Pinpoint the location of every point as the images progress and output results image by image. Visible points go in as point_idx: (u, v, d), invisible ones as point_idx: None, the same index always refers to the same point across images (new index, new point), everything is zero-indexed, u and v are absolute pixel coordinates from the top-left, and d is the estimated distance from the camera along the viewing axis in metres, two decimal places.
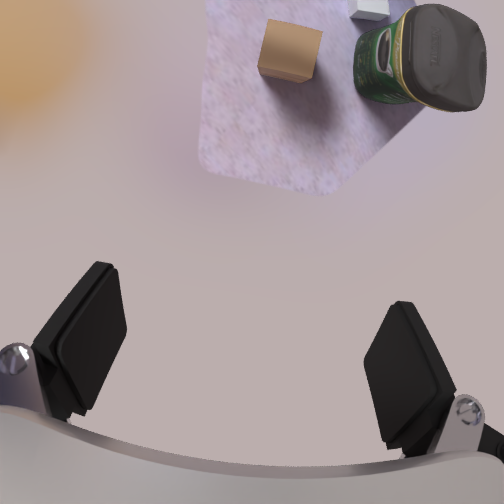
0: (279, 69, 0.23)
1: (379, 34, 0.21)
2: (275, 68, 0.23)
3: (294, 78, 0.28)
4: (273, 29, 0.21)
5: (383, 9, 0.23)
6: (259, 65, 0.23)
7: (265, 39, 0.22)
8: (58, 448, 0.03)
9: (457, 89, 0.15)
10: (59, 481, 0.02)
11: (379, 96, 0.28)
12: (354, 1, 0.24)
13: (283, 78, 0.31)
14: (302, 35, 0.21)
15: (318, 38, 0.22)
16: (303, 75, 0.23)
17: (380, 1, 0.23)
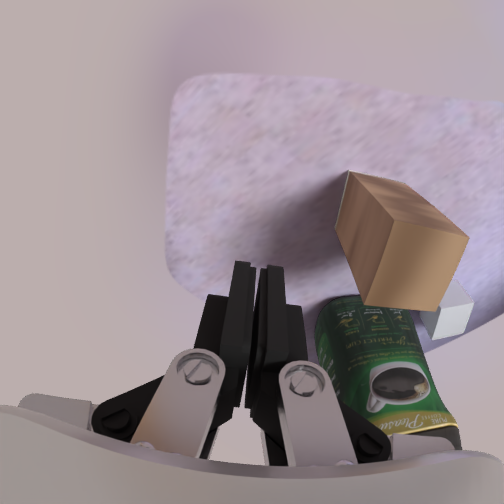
0: (384, 257, 0.14)
1: (418, 363, 0.19)
2: (386, 251, 0.14)
3: (352, 245, 0.19)
4: (451, 245, 0.13)
5: (438, 333, 0.24)
6: (395, 223, 0.13)
7: (438, 233, 0.13)
8: (58, 448, 0.03)
9: None
10: (59, 481, 0.02)
11: (327, 347, 0.24)
12: (449, 299, 0.23)
13: (344, 211, 0.22)
14: (434, 286, 0.15)
15: (426, 307, 0.15)
16: (369, 293, 0.15)
17: (448, 329, 0.24)
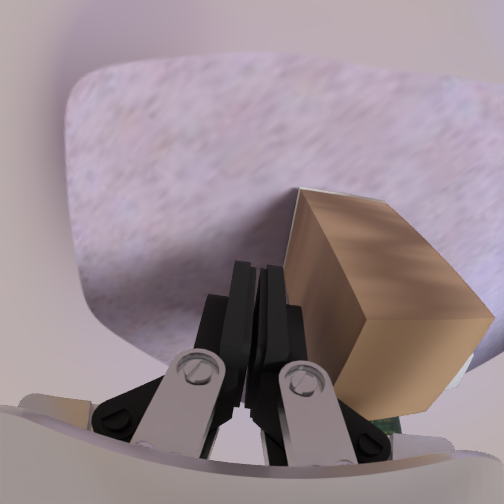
0: (344, 373, 0.07)
1: None
2: (349, 365, 0.07)
3: None
4: (465, 335, 0.07)
5: None
6: (368, 324, 0.07)
7: (448, 323, 0.07)
8: (58, 448, 0.03)
9: None
10: (59, 481, 0.02)
11: None
12: None
13: (293, 250, 0.15)
14: (428, 389, 0.08)
15: (412, 411, 0.09)
16: None
17: None
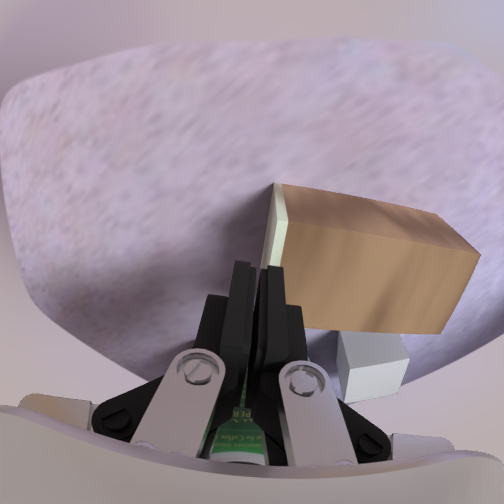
0: None
1: None
2: None
3: (375, 313, 0.13)
4: None
5: (354, 396, 0.18)
6: (478, 256, 0.11)
7: None
8: (58, 448, 0.03)
9: None
10: (59, 481, 0.02)
11: None
12: (369, 352, 0.17)
13: (305, 288, 0.12)
14: None
15: None
16: (445, 322, 0.13)
17: (370, 391, 0.18)
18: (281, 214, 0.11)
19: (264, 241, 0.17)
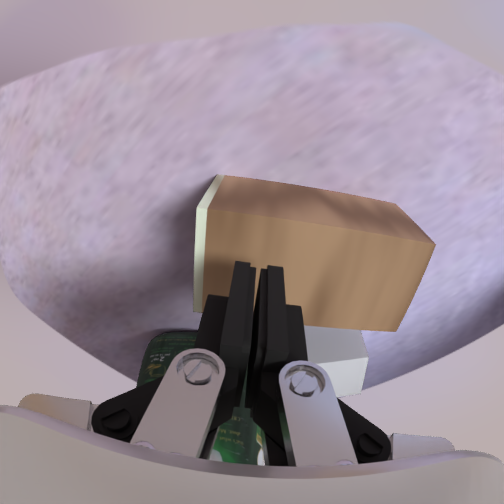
0: (418, 281, 0.12)
1: (221, 449, 0.13)
2: (422, 274, 0.12)
3: (313, 306, 0.13)
4: None
5: None
6: (432, 246, 0.11)
7: None
8: (58, 448, 0.03)
9: None
10: (59, 481, 0.02)
11: None
12: (324, 349, 0.17)
13: None
14: None
15: None
16: (401, 318, 0.13)
17: None
18: (204, 202, 0.12)
19: None
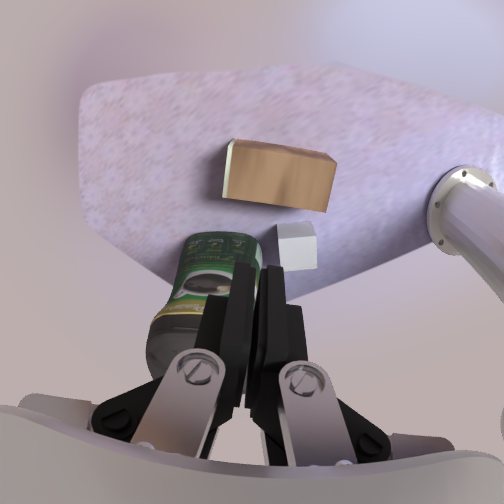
0: (332, 183, 0.27)
1: None
2: (333, 179, 0.27)
3: (279, 193, 0.28)
4: None
5: (286, 265, 0.33)
6: (336, 164, 0.26)
7: (330, 158, 0.29)
8: (58, 448, 0.03)
9: (161, 374, 0.21)
10: (59, 481, 0.02)
11: None
12: (291, 233, 0.32)
13: (242, 177, 0.27)
14: None
15: None
16: (327, 204, 0.28)
17: (296, 262, 0.33)
18: (230, 144, 0.26)
19: None
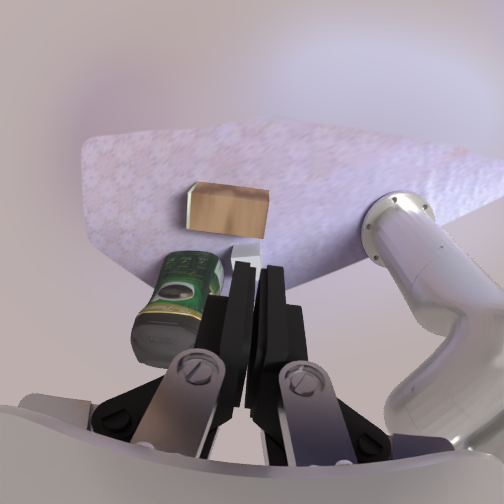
0: (266, 217, 0.37)
1: (193, 284, 0.38)
2: None
3: (227, 225, 0.38)
4: None
5: None
6: (268, 203, 0.37)
7: (268, 196, 0.39)
8: (58, 448, 0.03)
9: (141, 353, 0.32)
10: (59, 481, 0.02)
11: None
12: (241, 253, 0.42)
13: (199, 215, 0.38)
14: None
15: None
16: None
17: None
18: (190, 191, 0.37)
19: None
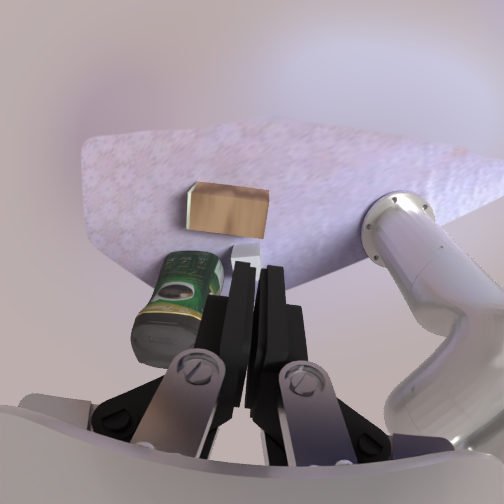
0: (266, 217, 0.37)
1: (193, 284, 0.38)
2: None
3: (227, 225, 0.38)
4: None
5: None
6: (268, 203, 0.37)
7: (268, 196, 0.39)
8: (58, 448, 0.03)
9: (141, 353, 0.32)
10: (59, 481, 0.02)
11: None
12: (241, 253, 0.42)
13: (199, 215, 0.38)
14: None
15: None
16: None
17: None
18: (190, 191, 0.37)
19: None
